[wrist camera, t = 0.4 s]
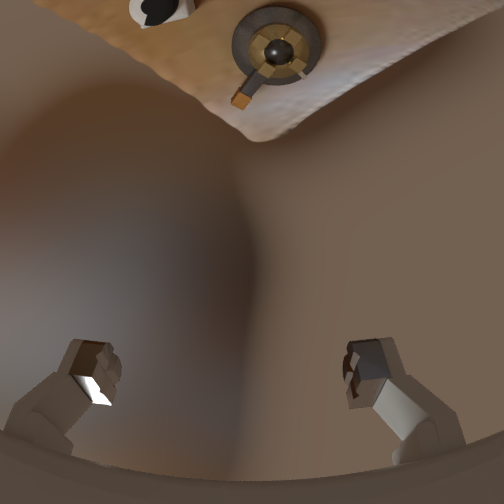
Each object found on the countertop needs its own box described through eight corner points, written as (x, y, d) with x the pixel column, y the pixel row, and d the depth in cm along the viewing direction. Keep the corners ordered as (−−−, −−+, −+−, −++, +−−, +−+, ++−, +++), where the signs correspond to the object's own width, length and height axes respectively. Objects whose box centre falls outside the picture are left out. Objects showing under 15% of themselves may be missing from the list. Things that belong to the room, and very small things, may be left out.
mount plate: (263, -10, 36) (264, -9, 34) (335, 37, 42) (339, 41, 41) (216, 55, 45) (214, 60, 43) (285, 94, 51) (287, 100, 50)
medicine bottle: (188, -28, 33) (172, -26, 25) (196, 10, 38) (183, 23, 31) (143, -16, 33) (117, -9, 26) (152, 20, 39) (130, 37, 32)
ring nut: (269, 11, 37) (271, 15, 35) (317, 42, 41) (322, 48, 39) (213, 88, 47) (212, 97, 45) (259, 112, 51) (260, 122, 49)
